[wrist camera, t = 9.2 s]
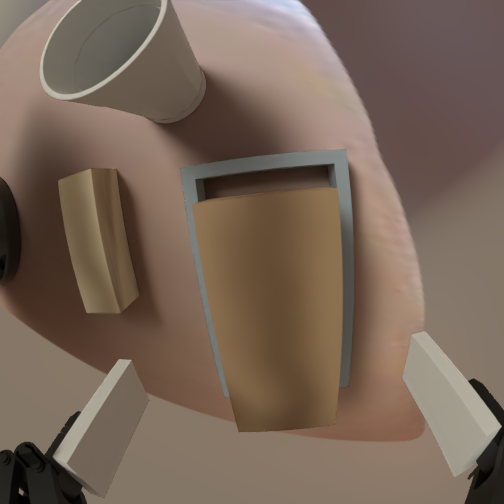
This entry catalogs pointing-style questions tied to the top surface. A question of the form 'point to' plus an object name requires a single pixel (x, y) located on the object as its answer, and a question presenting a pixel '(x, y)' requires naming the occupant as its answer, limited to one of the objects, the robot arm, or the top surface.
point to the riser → (98, 240)
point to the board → (276, 303)
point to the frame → (331, 158)
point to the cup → (124, 59)
